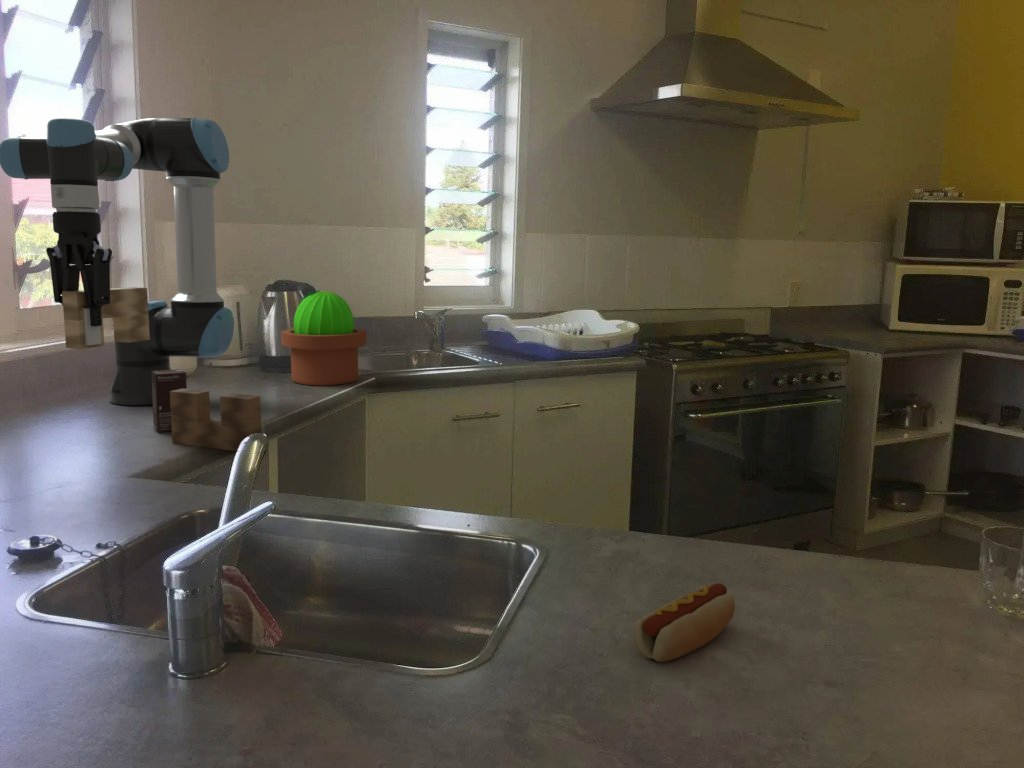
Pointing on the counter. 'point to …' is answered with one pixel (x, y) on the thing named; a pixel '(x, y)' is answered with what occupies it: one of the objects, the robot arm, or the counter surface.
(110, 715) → the counter surface
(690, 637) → the food
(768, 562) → the counter surface
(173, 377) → the box
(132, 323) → the arched wooden block
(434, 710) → the counter surface
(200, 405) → the notched wooden block
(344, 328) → the potted cactus
